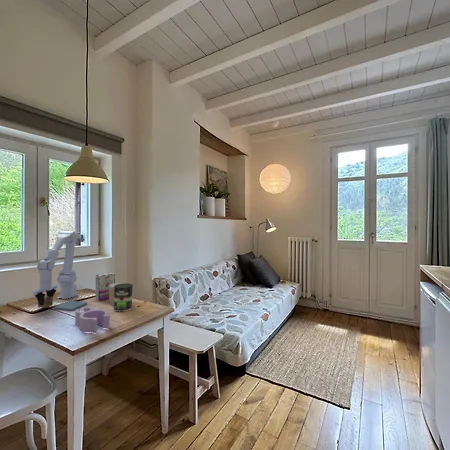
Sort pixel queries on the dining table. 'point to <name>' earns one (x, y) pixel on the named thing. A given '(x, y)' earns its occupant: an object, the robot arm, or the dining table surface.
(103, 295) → the candy bar box
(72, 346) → the dining table surface
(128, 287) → the coffee can
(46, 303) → the walnut cube
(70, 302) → the slate board
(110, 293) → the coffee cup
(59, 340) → the dining table surface
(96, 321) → the clip
